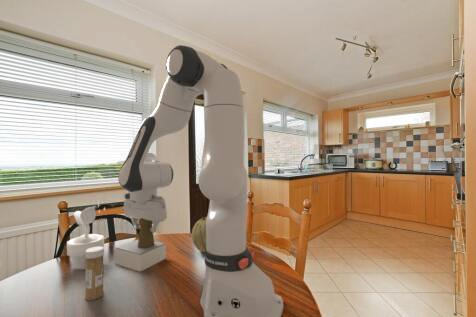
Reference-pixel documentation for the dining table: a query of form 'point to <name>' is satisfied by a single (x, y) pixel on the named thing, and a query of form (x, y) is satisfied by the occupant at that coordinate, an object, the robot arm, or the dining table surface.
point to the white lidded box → (139, 255)
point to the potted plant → (84, 238)
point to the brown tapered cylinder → (145, 234)
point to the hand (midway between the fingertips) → (144, 230)
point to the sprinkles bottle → (94, 273)
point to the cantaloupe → (199, 234)
